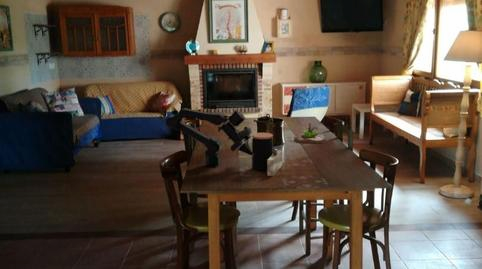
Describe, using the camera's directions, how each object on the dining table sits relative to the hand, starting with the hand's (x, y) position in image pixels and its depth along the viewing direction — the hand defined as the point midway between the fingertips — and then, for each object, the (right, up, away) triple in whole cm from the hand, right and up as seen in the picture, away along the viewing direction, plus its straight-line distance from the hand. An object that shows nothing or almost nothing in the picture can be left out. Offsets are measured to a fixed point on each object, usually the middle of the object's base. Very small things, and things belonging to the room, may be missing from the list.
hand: (252, 154), depth 242 cm
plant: (+39, +6, +63) cm, 74 cm away
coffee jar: (+5, -8, 0) cm, 9 cm away
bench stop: (+12, -8, -2) cm, 14 cm away
